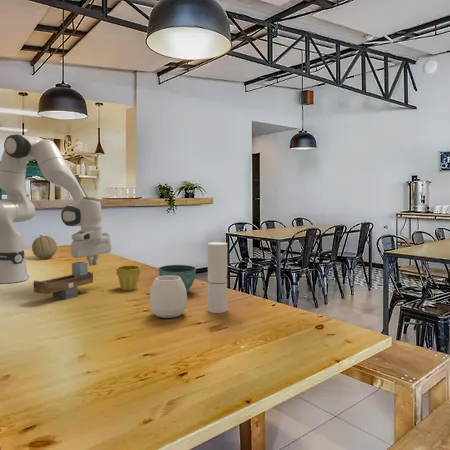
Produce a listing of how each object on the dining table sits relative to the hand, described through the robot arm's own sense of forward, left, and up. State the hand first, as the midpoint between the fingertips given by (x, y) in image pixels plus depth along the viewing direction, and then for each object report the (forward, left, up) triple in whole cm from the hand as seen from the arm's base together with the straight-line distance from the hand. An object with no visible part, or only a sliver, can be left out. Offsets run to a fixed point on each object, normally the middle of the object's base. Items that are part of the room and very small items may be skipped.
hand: (92, 265), depth 186 cm
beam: (0, -15, -11) cm, 18 cm away
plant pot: (+13, +9, -11) cm, 19 cm away
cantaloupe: (-87, +43, -11) cm, 98 cm away
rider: (0, -7, -5) cm, 8 cm away
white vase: (+52, -14, -11) cm, 55 cm away
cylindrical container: (+64, 0, -11) cm, 65 cm away
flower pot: (+36, +14, -11) cm, 40 cm away
